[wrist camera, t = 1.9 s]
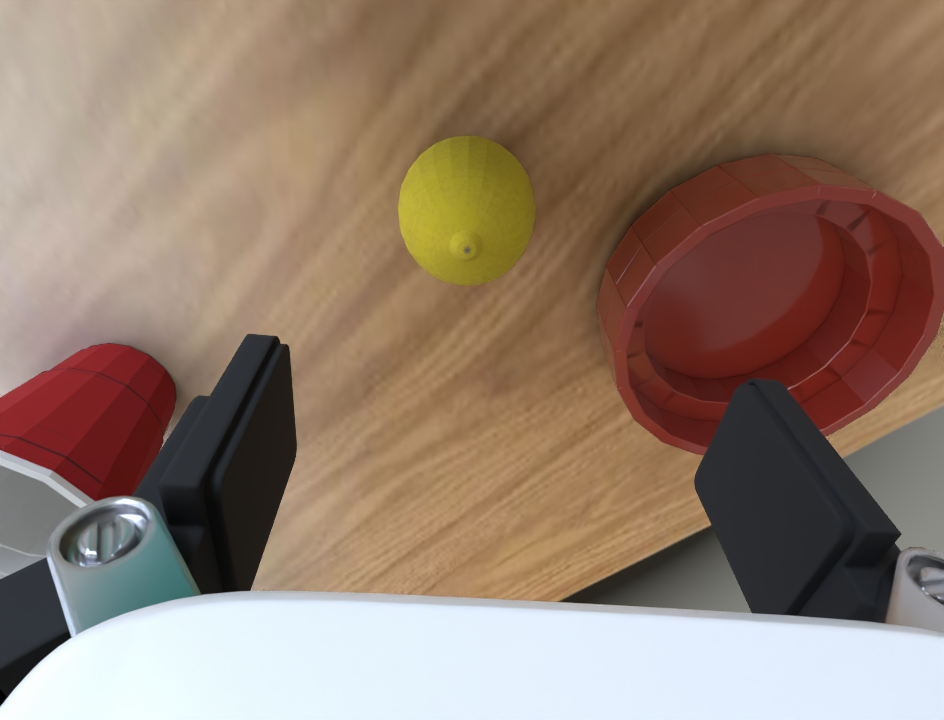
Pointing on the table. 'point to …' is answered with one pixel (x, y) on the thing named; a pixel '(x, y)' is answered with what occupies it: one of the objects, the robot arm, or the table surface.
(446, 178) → the lemon
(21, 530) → the plastic cup
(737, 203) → the bowl
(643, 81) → the table surface
